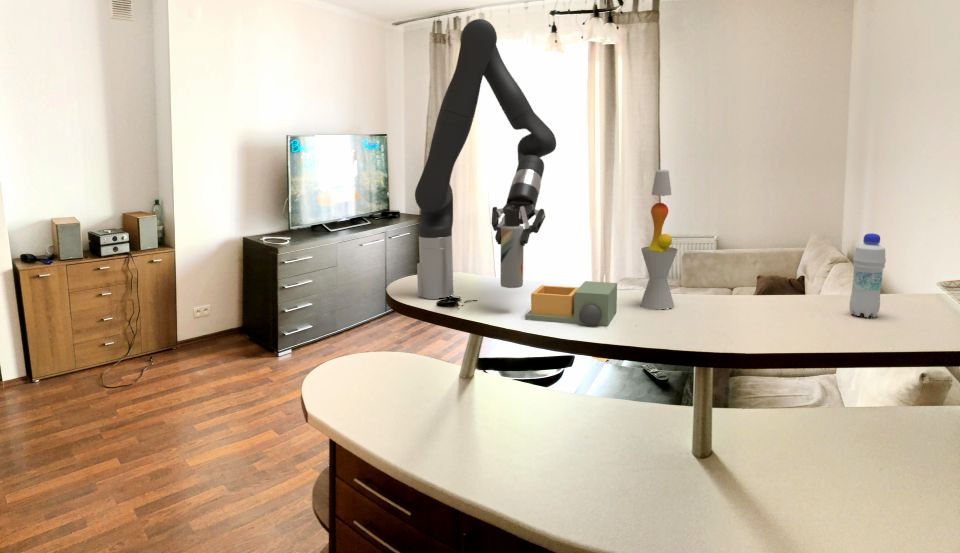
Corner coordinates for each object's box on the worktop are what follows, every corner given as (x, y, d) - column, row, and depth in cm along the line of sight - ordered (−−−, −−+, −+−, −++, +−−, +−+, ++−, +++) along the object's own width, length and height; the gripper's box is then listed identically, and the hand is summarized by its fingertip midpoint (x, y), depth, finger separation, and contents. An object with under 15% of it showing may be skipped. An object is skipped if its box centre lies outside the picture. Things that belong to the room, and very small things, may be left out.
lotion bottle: (521, 283, 169) (522, 205, 164) (524, 288, 163) (525, 208, 159) (499, 283, 168) (500, 205, 164) (501, 288, 163) (501, 208, 159)
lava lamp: (632, 306, 171) (636, 170, 164) (650, 299, 177) (655, 168, 170) (663, 311, 165) (669, 171, 158) (681, 305, 171) (687, 169, 164)
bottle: (874, 312, 160) (883, 231, 156) (883, 319, 154) (892, 235, 150) (844, 311, 162) (852, 231, 158) (851, 318, 156) (860, 235, 152)
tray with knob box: (523, 321, 158) (523, 290, 157) (540, 305, 173) (541, 277, 171) (606, 327, 151) (607, 295, 150) (617, 310, 166) (618, 281, 165)
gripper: (495, 180, 170) (479, 232, 161) (549, 182, 165) (536, 235, 156) (501, 199, 176) (486, 250, 167) (553, 201, 171) (541, 253, 162)
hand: (510, 243), depth 162 cm, fingers closed on lotion bottle, 5 cm apart
